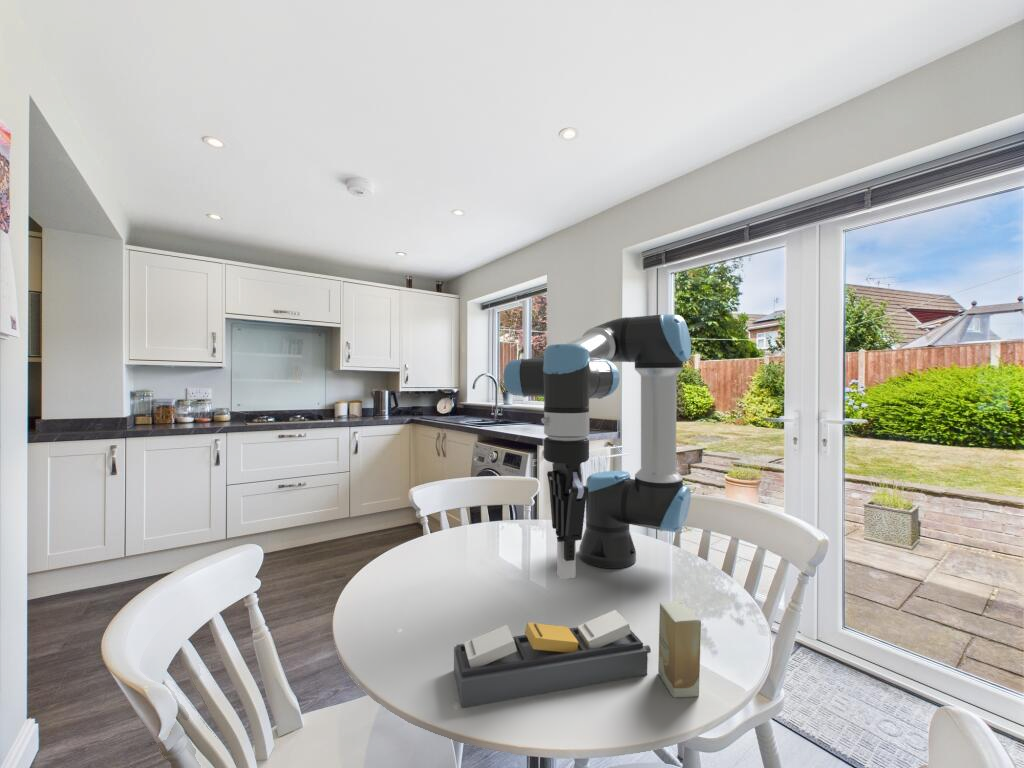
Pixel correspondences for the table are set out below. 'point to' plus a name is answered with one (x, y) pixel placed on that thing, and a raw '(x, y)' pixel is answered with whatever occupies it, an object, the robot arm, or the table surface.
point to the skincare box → (679, 649)
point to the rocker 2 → (604, 630)
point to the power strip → (547, 669)
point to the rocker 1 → (490, 647)
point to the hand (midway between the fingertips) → (566, 576)
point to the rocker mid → (551, 637)
